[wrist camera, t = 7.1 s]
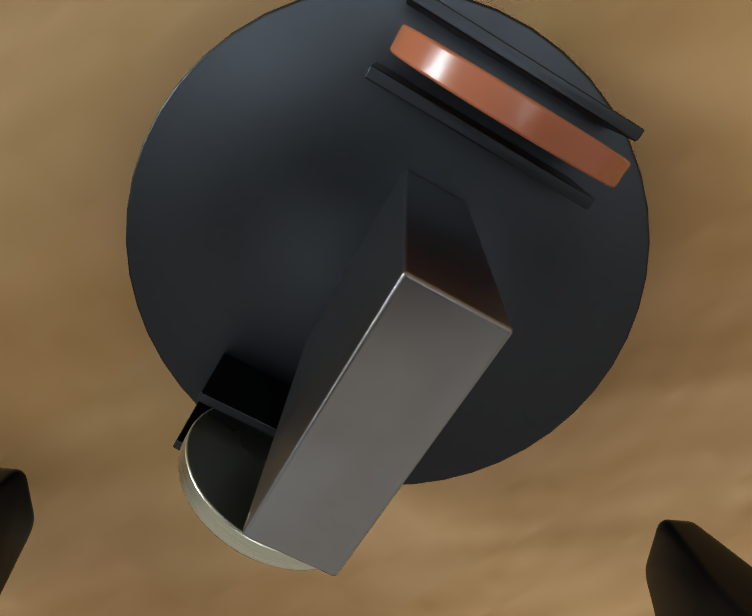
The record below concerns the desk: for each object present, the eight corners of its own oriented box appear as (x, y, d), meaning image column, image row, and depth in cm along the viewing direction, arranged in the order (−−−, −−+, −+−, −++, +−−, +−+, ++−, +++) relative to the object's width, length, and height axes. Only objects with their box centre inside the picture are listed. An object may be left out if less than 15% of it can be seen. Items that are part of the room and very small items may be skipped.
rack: (753, 173, 17) (1068, 294, 9) (462, 533, 23) (493, 815, 15) (265, -139, 15) (92, -355, 7) (70, 345, 21) (-158, 553, 12)
